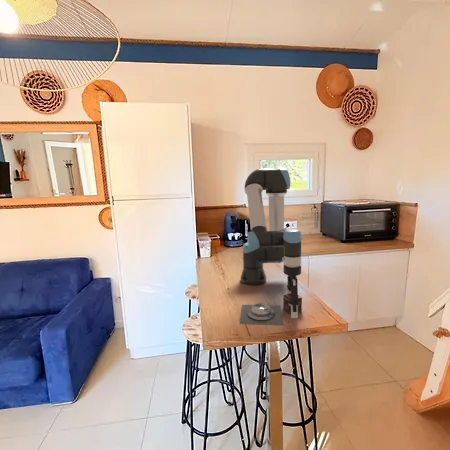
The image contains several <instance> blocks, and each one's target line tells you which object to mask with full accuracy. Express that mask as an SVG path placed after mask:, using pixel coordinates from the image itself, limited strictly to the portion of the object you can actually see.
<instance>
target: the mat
mask: <svg viewBox="0 0 450 450" xmlns="http://www.w3.org/2000/svg"><path fill="white" fill-rule="evenodd" d="M253 305H254V304H241V309H240V316H239V325H252V326H253V325H254V326H255V325H256V326H257V325H259V326H285V324H284V318H283V314H282V308H281V305H279V304H268V305H269V306H270V307H271V309H273V310H274V312H275V316H274V318H272V319H270V320H267V321H257V320H253V319H251V318H249V317H248V314H247V312H248V310H249V309H250V308H251V307H252V306H253Z"/></svg>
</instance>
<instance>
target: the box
mask: <svg viewBox="0 0 450 450" xmlns="http://www.w3.org/2000/svg"><path fill="white" fill-rule="evenodd" d="M282 296H283V299H282V301H283V303H282V304H283V305H282V307H283V308H282V309H283V310H284V311H285V312H286V313H287V314H289V315H290V316H291V305H290V303H291V293H290V294H288V293H287V294H283V295H282ZM298 303H299V305H298V314H299V313H302V309H303V307H302V306H303V304H302V303H303V297H302V296H300V295H299V294H298Z"/></svg>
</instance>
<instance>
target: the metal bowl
mask: <svg viewBox="0 0 450 450" xmlns="http://www.w3.org/2000/svg"><path fill="white" fill-rule="evenodd" d="M252 305H253V306H252V307H251V308H250V309H249V310H248V312H247V314H248V317H249V318H251V319H253V320H257V321H267V320H270V319H272V318H274V316H275V312H274V310H273V309H271V307H270V306H269V305H270V304H267V303H255V304H252Z"/></svg>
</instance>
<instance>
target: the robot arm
mask: <svg viewBox="0 0 450 450" xmlns="http://www.w3.org/2000/svg"><path fill="white" fill-rule="evenodd" d="M290 188H291V176H290V172H289V170H288V169H287V168H285V167H274V168H273V167H272V168H257V169H255V170H253V171H252V172H251V173H250V174H249V175H248V176H247V177H246V180H245V182H244V193H245V195H247V204H248V205H247V206H248V214H249V224H250V231H248V232H247V236H246V237H247V242H245V243H244V244H243V245H242V270H241V275H240V282H241V283H242V284H244V285H250V286H259V285H263V284H266V282H267V275H266V271H265V269H264V264H281V263H283V274H284V275H286V276H287V285H286V287H287V294H290V293H291V303H290V305H291V315H290V318H291V319H298V317H299V316H298V314H299V313H298V305H299V303H298V295H299V291H298V289H299V288H298V284H299V283H298V281H299V280H298V278H297V276H300V275H301V274H302V239H303V237H302V231H301V230H300V229H295V228H289V229H287V228H285V195H287V193H288V190H289V189H290ZM263 191H265V194H266V195H267V196H268V229H267V222H266V216H265V215H266V214H265V208H264V203H263V194H262V193H263Z"/></svg>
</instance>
